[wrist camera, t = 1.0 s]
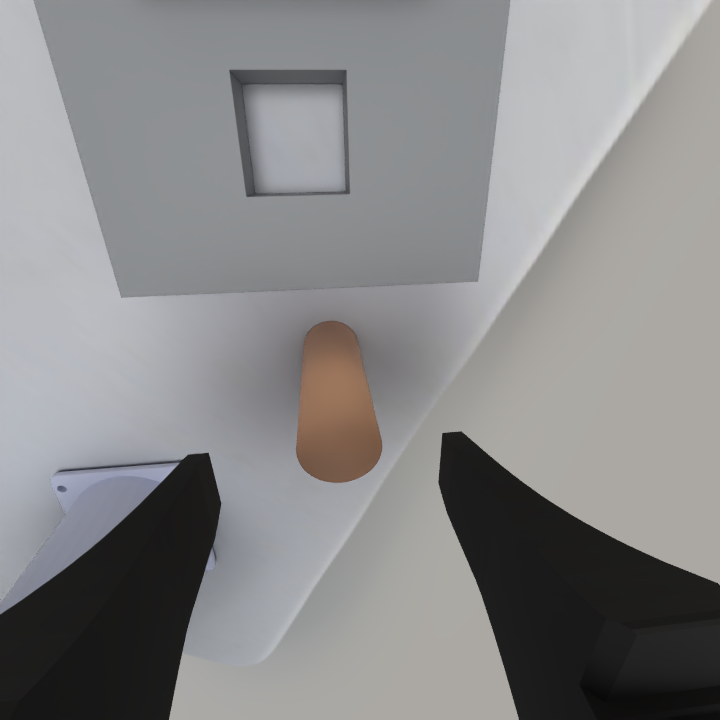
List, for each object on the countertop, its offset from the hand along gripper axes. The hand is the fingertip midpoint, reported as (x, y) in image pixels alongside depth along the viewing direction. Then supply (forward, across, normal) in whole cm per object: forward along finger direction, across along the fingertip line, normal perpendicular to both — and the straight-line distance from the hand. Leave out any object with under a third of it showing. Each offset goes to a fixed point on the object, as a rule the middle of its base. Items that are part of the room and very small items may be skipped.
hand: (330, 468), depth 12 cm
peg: (+10, 0, 0) cm, 10 cm away
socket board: (+10, +1, -11) cm, 15 cm away
